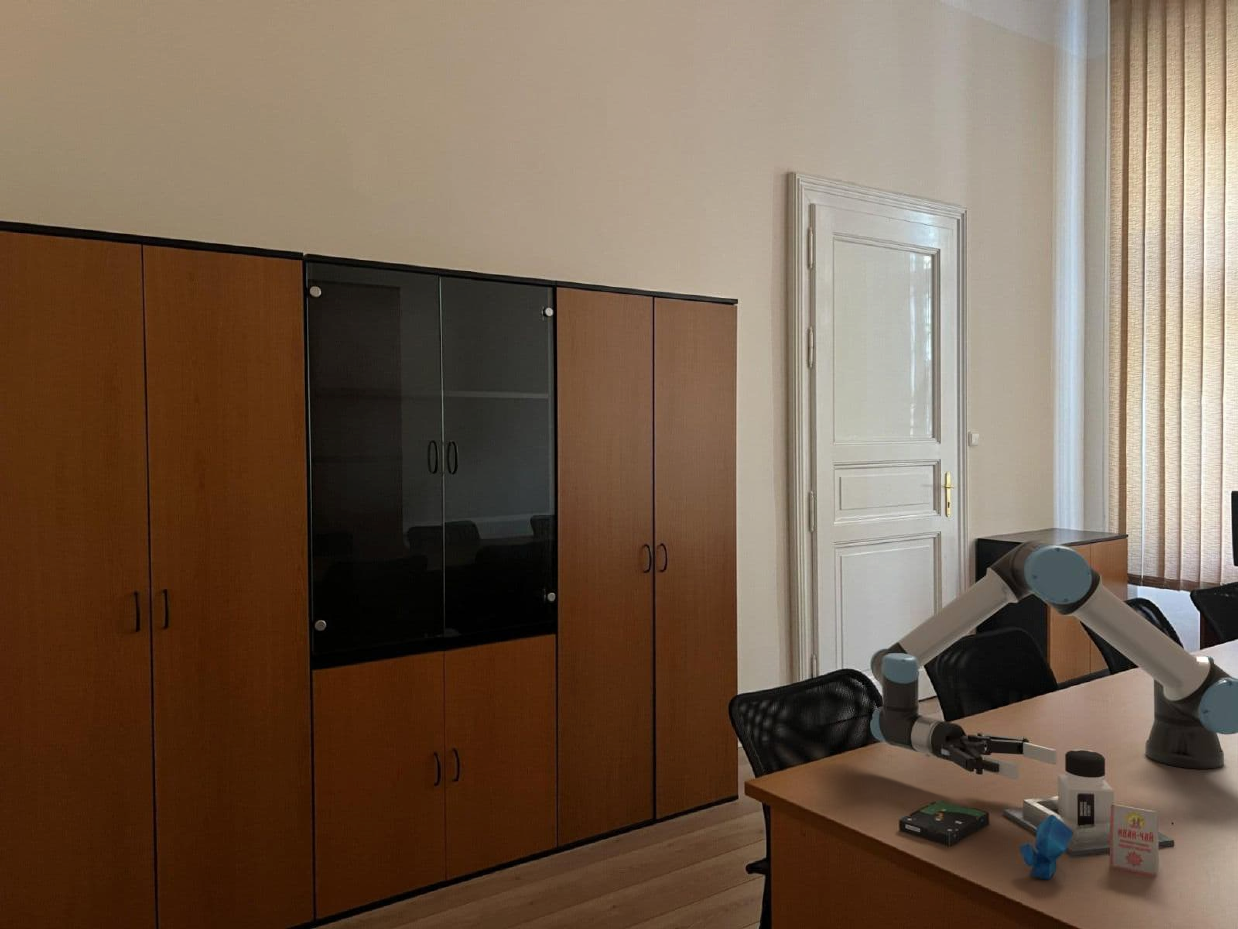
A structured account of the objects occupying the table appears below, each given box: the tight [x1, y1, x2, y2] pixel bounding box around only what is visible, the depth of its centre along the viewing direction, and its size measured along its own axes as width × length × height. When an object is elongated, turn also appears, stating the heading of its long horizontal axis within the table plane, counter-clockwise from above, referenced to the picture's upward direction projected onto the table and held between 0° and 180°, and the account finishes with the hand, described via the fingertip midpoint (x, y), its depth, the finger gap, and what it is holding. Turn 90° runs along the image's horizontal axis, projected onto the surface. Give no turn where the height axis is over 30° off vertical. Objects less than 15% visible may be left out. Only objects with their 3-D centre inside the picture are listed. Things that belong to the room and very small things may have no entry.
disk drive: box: [898, 799, 990, 847], centre depth 181 cm, size 10×3×15 cm
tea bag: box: [1109, 803, 1160, 878], centre depth 162 cm, size 4×7×10 cm, turn 56°
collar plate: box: [1002, 795, 1175, 858], centre depth 179 cm, size 20×20×4 cm
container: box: [1057, 748, 1115, 826], centre depth 179 cm, size 8×8×13 cm
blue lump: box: [1019, 815, 1073, 881], centre depth 161 cm, size 7×9×12 cm
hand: (1036, 764), depth 186 cm, fingers open, 13 cm apart
